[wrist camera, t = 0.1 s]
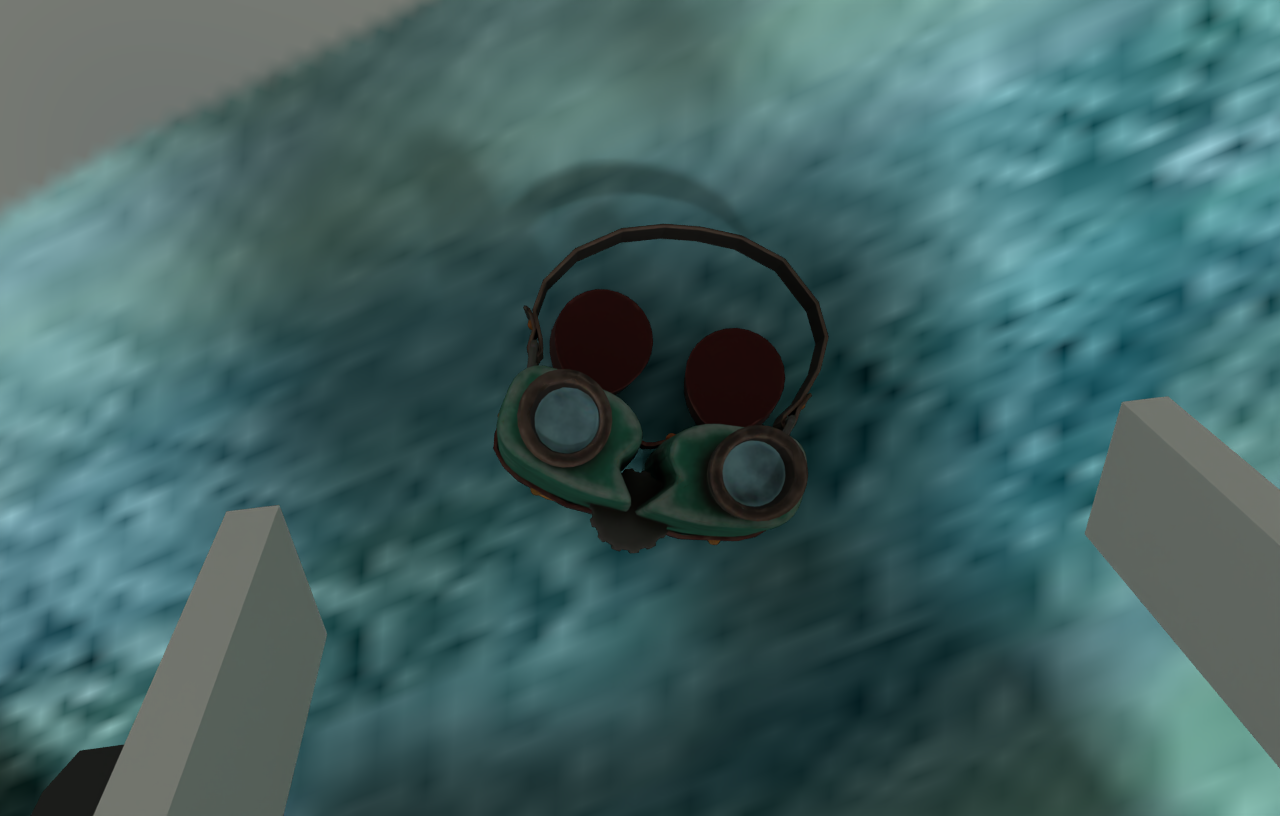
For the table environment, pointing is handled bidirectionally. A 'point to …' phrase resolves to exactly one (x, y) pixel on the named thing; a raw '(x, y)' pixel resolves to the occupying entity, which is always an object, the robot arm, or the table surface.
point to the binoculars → (611, 434)
